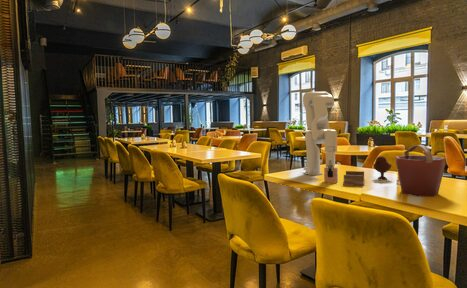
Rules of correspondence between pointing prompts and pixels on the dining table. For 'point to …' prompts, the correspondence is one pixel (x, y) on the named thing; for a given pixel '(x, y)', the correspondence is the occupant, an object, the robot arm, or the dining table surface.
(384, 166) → the ice cream bowl
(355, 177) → the rack
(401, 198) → the dining table surface
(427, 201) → the dining table surface
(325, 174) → the tile
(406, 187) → the bucket
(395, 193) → the dining table surface
